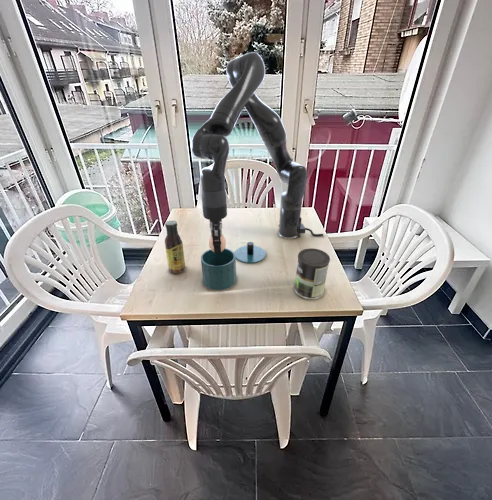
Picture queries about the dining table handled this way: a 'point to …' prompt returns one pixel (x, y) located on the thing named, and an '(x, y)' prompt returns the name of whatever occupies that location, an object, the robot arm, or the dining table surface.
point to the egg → (223, 241)
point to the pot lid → (250, 253)
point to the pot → (218, 269)
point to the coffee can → (311, 273)
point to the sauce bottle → (174, 248)
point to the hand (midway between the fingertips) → (217, 247)
